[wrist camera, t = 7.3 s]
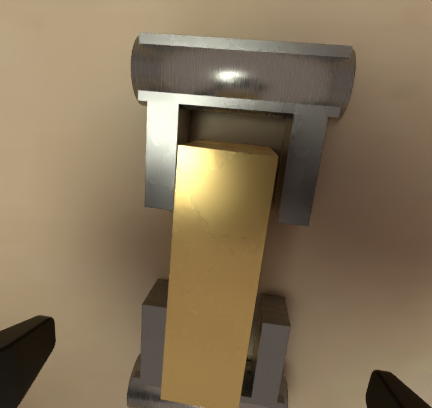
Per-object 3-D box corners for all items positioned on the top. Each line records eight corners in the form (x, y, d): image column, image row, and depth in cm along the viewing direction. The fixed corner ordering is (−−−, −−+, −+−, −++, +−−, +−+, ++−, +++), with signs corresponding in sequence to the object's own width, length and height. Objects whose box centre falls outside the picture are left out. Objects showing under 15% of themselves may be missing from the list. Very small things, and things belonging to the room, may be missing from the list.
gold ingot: (241, 335, 18) (237, 414, 13) (185, 325, 18) (160, 398, 13) (270, 147, 15) (278, 156, 10) (202, 139, 15) (178, 145, 10)
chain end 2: (277, 401, 18) (281, 449, 16) (144, 378, 19) (126, 420, 16) (295, 298, 16) (304, 333, 14) (147, 277, 17) (127, 306, 14)
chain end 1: (154, 44, 14) (131, 25, 11) (339, 57, 13) (361, 39, 10) (150, 193, 16) (129, 206, 13) (311, 212, 15) (324, 230, 12)
